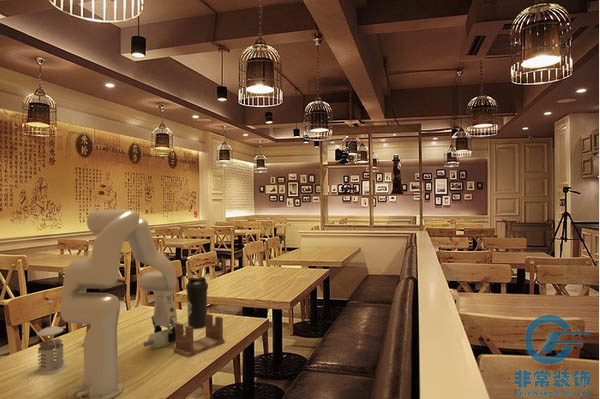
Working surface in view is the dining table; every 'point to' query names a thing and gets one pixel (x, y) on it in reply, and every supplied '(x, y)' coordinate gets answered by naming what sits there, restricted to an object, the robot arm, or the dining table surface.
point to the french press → (50, 351)
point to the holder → (191, 347)
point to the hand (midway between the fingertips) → (165, 339)
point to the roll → (158, 339)
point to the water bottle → (197, 302)
